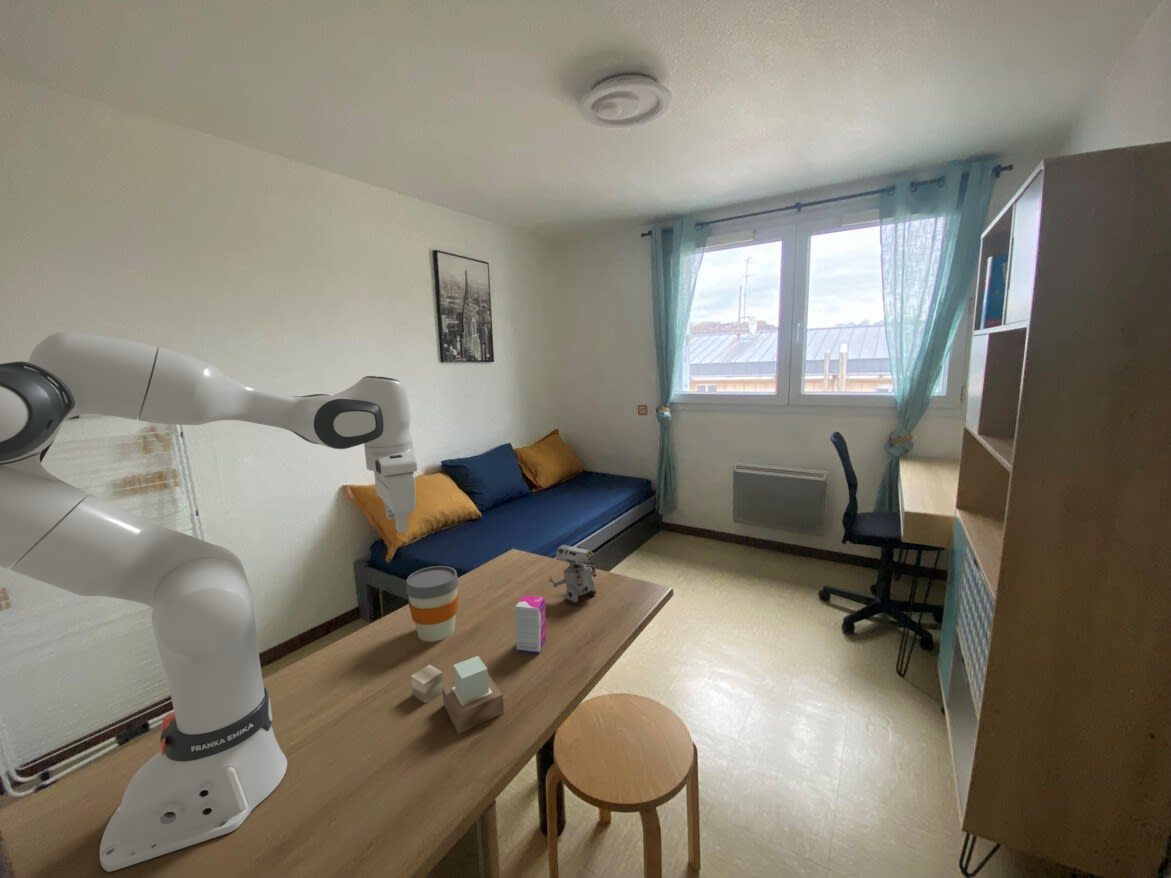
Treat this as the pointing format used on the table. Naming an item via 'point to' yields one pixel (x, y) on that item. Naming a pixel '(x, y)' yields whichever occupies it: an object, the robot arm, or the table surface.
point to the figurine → (576, 573)
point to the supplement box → (530, 624)
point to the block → (427, 683)
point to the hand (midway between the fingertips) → (396, 524)
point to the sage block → (471, 678)
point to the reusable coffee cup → (433, 601)
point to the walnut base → (472, 706)
